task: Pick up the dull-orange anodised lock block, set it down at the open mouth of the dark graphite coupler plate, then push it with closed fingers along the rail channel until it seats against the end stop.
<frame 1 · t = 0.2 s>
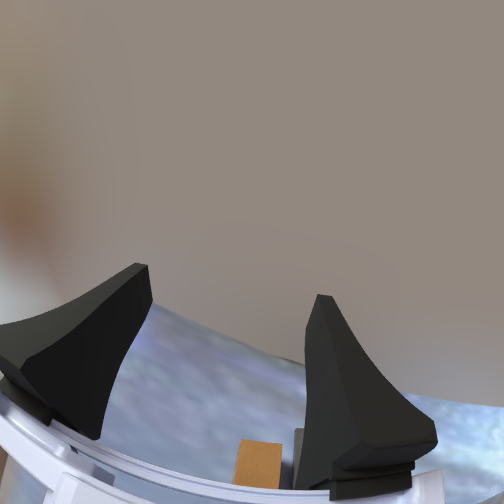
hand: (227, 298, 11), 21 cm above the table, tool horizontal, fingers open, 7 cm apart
coupler: (338, 474, 20), on the table
lock block: (251, 475, 20), on the table
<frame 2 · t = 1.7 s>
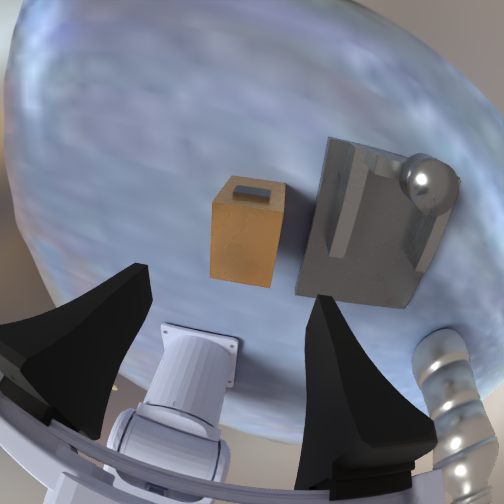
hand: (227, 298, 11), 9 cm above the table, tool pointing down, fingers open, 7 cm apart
coupler: (378, 227, 18), on the table
lock block: (254, 211, 19), on the table
plastic bottle: (432, 341, 24), on the table
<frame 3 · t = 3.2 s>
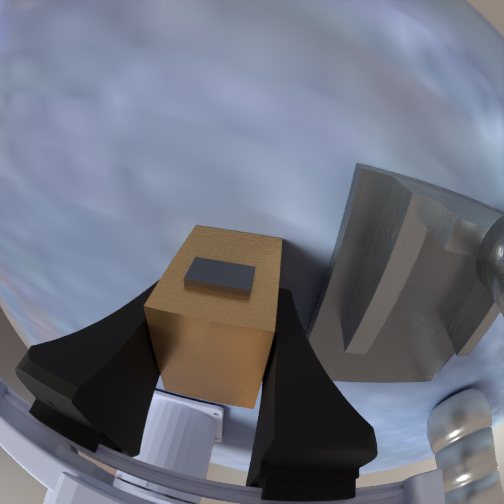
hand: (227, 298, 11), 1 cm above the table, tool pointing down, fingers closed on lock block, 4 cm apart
coupler: (415, 296, 12), on the table
lock block: (234, 278, 12), on the table, touching gripper
plastic bottle: (452, 398, 17), on the table
when the fingers open (3 cm above the table, at t = 6.8 s): lock block stays where it is, resting on coupler.
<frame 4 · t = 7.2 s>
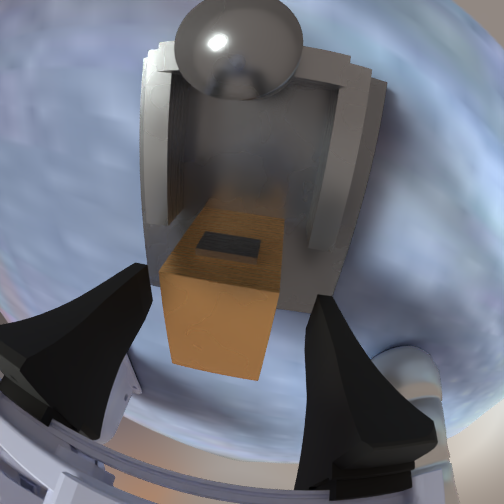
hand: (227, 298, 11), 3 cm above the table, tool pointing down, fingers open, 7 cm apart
coupler: (249, 180, 12), on the table
lock block: (238, 258, 13), point 1 cm above the table, touching coupler
plastic bottle: (390, 360, 18), on the table
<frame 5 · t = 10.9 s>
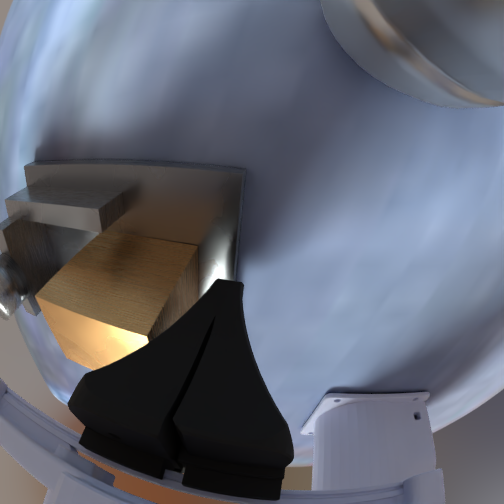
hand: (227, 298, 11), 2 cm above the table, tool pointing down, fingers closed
coupler: (115, 253, 13), on the table
lock block: (150, 270, 12), point 1 cm above the table, touching coupler, gripper
plastic bottle: (398, 27, 6), on the table
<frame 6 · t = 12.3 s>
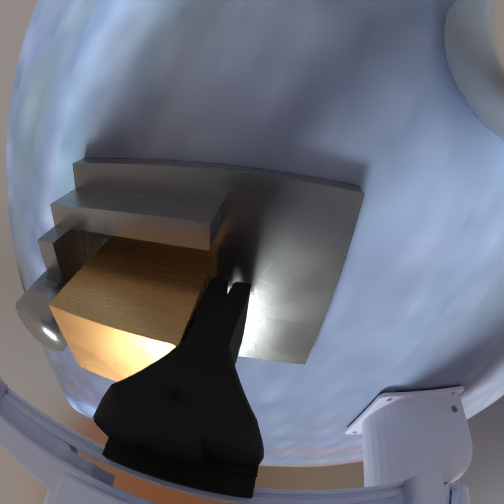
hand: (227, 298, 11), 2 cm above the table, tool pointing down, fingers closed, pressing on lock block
coupler: (191, 267, 13), on the table
lock block: (165, 274, 12), point 1 cm above the table, touching coupler, gripper
plastic bottle: (483, 68, 6), on the table
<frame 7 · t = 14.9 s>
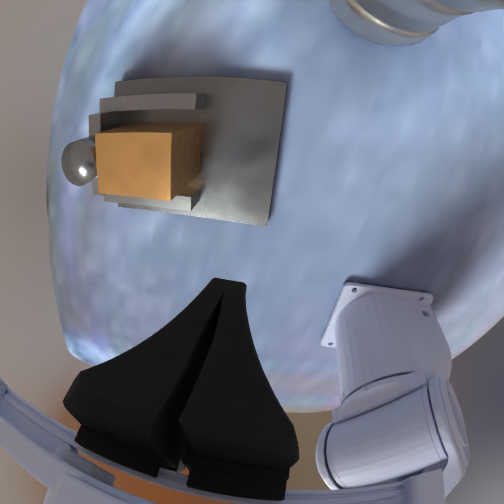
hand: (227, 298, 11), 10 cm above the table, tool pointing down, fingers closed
coupler: (184, 145, 18), on the table
lock block: (167, 147, 17), point 1 cm above the table, touching coupler
plastic bottle: (372, 11, 11), on the table
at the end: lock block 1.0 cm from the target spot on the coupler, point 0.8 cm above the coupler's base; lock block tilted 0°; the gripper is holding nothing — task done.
